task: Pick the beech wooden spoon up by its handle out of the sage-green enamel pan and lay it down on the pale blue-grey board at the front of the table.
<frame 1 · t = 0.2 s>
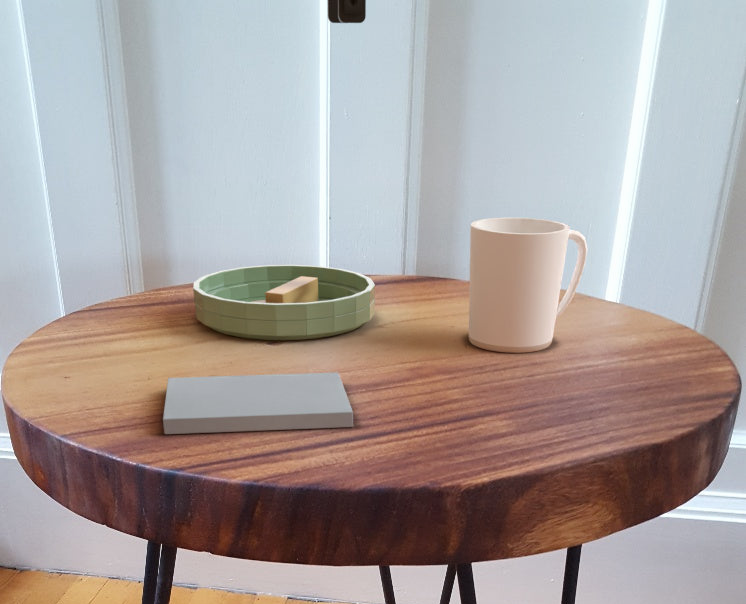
hand: (345, 23, 82), 25 cm above the table, tool pointing down, fingers open, 8 cm apart
pan: (285, 318, 99), on the table
mug: (520, 343, 92), on the table
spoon: (285, 312, 98), point 1 cm above the table, touching pan
board: (257, 409, 75), on the table
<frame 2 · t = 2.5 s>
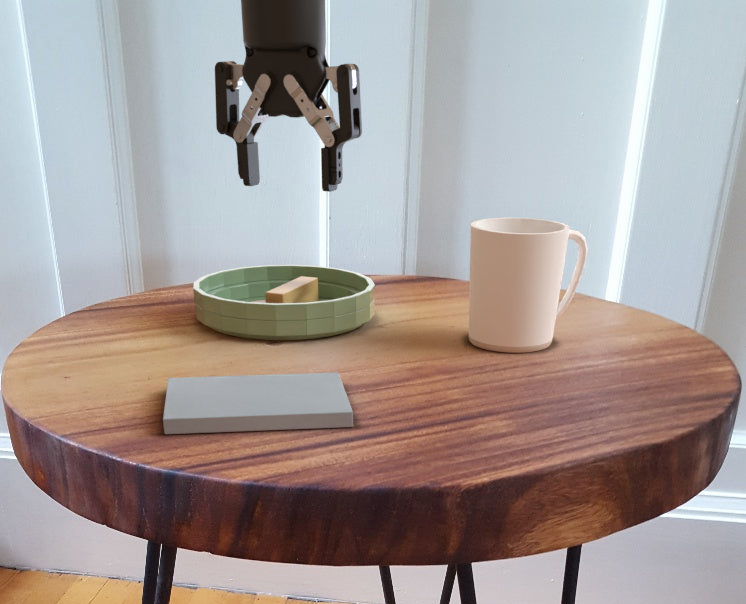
hand: (290, 187, 94), 12 cm above the table, tool pointing down, fingers open, 8 cm apart
nothing on the table moved.
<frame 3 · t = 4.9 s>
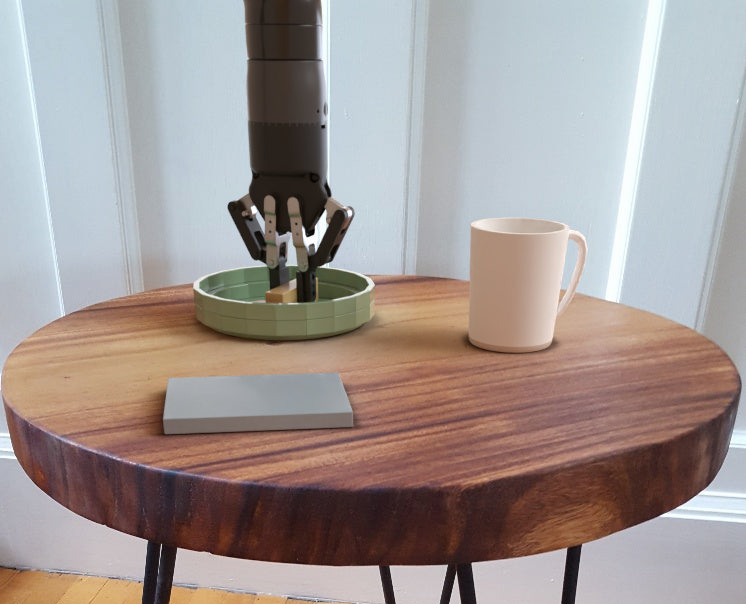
hand: (293, 305, 100), 1 cm above the table, tool pointing down, fingers closed on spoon, 2 cm apart
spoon: (285, 312, 98), point 1 cm above the table, touching gripper
everything else where it was.
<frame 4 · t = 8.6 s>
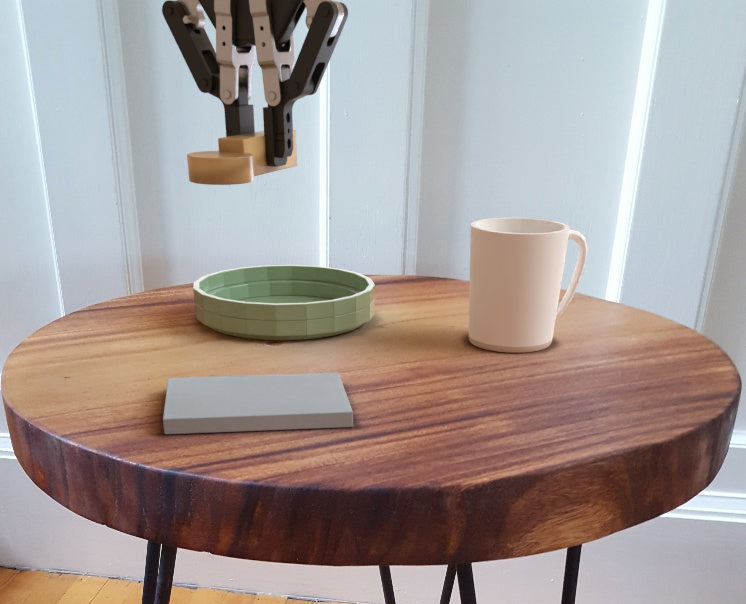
hand: (261, 163, 70), 17 cm above the table, tool pointing down, fingers closed on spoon
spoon: (248, 174, 68), point 16 cm above the table, touching gripper
everything else where it was.
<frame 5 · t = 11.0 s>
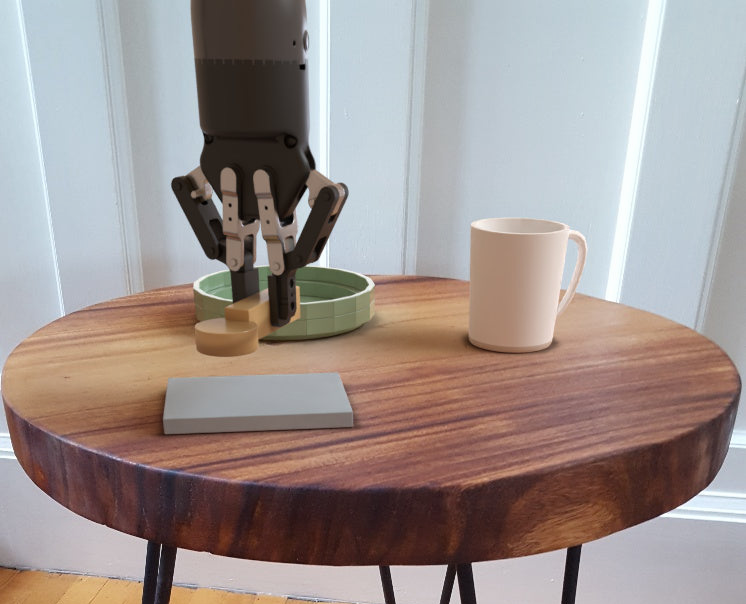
hand: (265, 322, 73), 6 cm above the table, tool pointing down, fingers closed on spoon
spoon: (254, 334, 71), point 6 cm above the table, touching gripper
everything else where it was.
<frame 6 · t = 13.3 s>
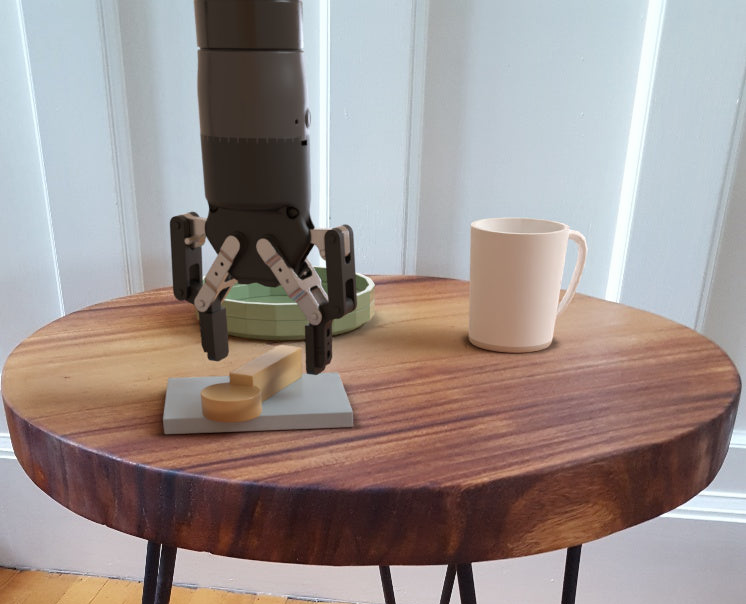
hand: (266, 365, 74), 3 cm above the table, tool pointing down, fingers open, 8 cm apart
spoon: (257, 396, 74), point 1 cm above the table, touching board
everything else where it was.
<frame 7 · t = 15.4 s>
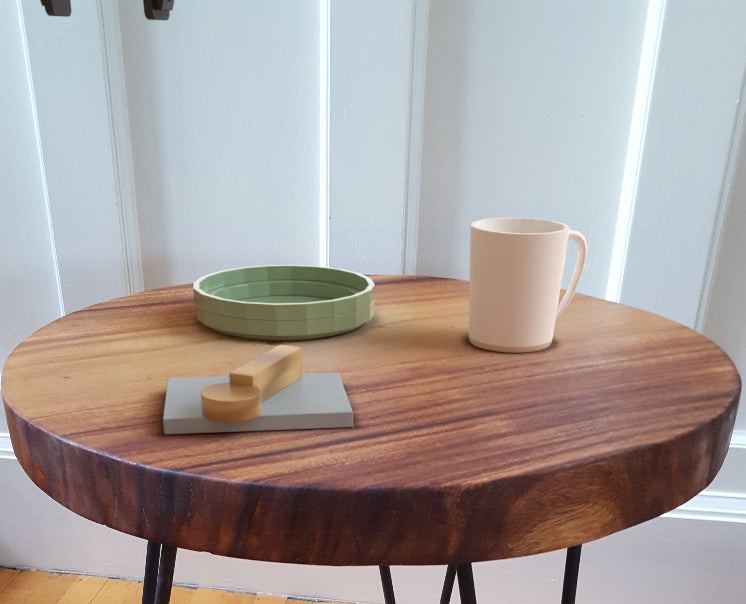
hand: (107, 18, 69), 26 cm above the table, tool pointing down, fingers open, 8 cm apart
nothing on the table moved.
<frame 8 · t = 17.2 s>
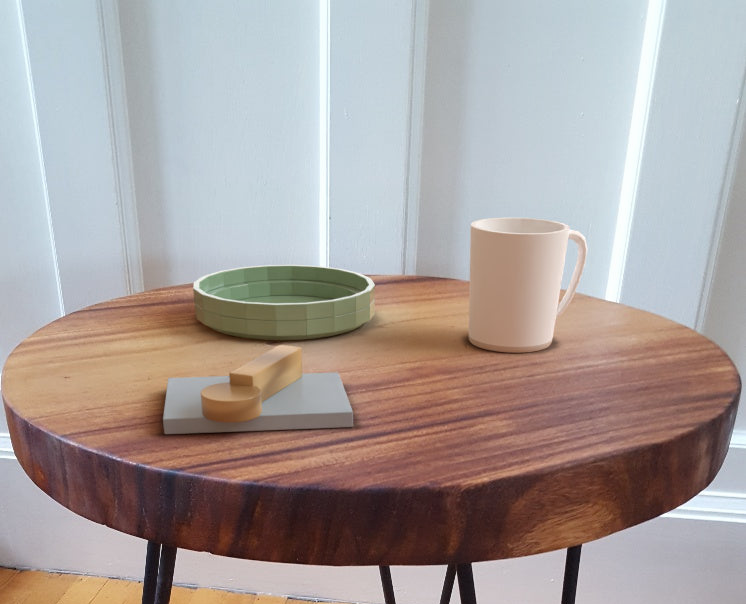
nothing on the table moved.
at the end: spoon touching board; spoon inside the target area on the board (0.7 cm from its centre), point 1.2 cm above the board's base; the gripper is holding nothing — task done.
